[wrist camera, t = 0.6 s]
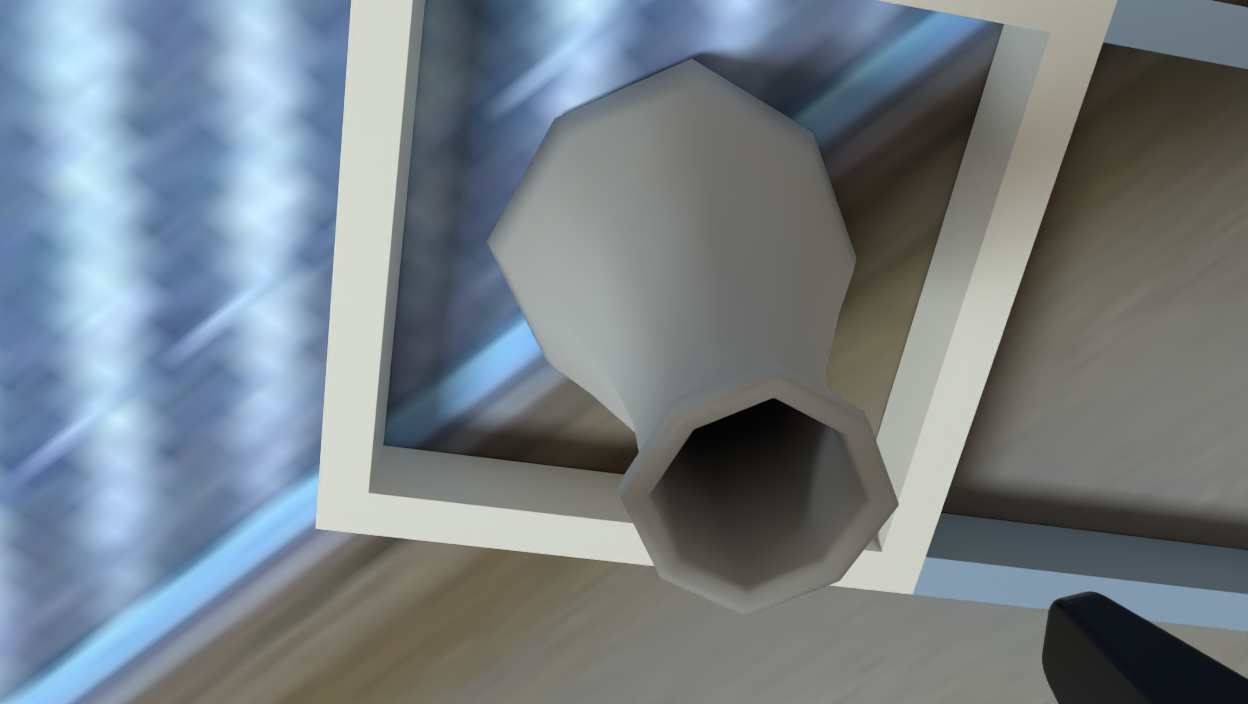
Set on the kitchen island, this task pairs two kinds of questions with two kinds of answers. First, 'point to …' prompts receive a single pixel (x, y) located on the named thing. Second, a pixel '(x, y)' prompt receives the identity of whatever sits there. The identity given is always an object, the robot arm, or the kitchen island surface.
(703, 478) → the flask
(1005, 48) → the duct frame
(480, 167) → the kitchen island surface
